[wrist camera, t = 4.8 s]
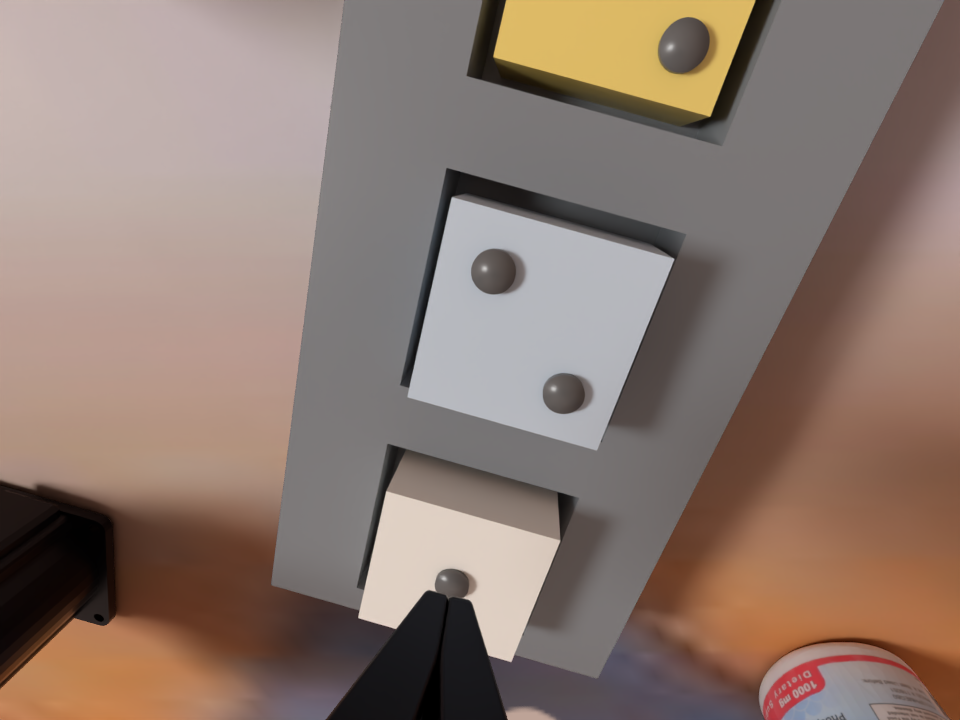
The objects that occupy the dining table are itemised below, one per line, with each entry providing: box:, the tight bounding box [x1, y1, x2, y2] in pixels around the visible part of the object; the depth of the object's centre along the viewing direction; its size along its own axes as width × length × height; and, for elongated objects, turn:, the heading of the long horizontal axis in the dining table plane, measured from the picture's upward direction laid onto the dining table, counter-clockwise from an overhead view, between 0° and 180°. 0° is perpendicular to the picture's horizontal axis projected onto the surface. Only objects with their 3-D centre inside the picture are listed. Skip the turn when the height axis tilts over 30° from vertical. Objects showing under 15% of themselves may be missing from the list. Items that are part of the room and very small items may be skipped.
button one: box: [358, 449, 560, 662], centre depth 16 cm, size 5×5×3 cm
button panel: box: [271, 0, 944, 679], centre depth 15 cm, size 24×12×4 cm, turn 166°
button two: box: [407, 193, 674, 451], centre depth 13 cm, size 5×5×3 cm
